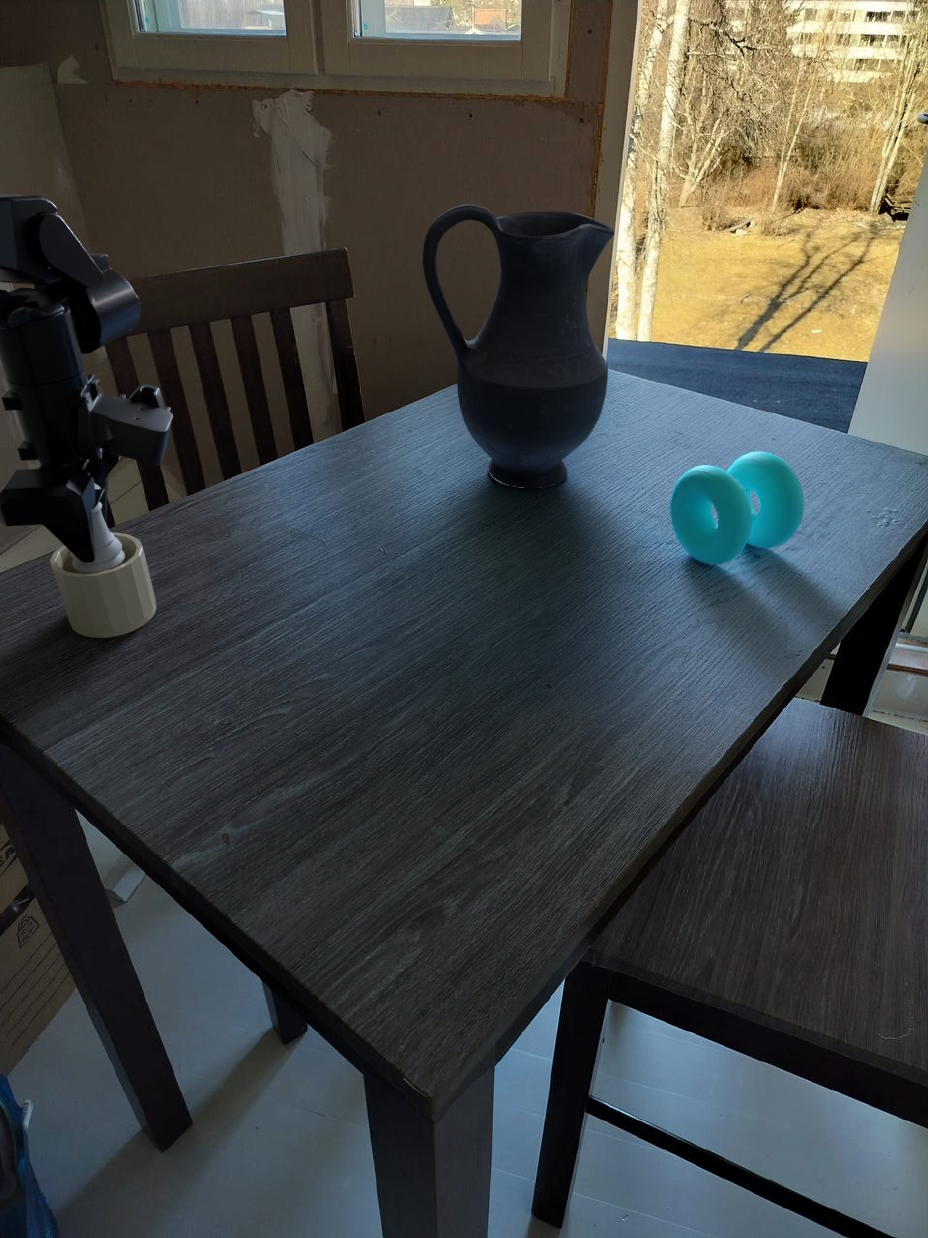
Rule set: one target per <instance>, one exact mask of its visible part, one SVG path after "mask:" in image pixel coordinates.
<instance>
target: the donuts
mask: <svg viewBox="0 0 928 1238" xmlns="http://www.w3.org/2000/svg"><path fill="white" fill-rule="evenodd" d="M752 492H753V493H754V494H755V496H756V497H757V499H758V503H759V511H758V512H757V510H756V508H755V506H754V504H753V498H752ZM712 506H713V507H714V509H715V512H716V515H717V521H716V519H715V517H714V515H713V512H712V511H713V509H712ZM804 511H805V497H804V492H803V487H802V484H801V482H800V479H799V477H798V476H797V474H796V472H795V470H794V469H793V467H791V465H790V464H789V463H787V461H785V460H784V459H783V458H782V457H780V456H778V455H776V454H775V453H774V454H773V453H771V452H768V451H751V452H748V453H745V454H743V455H742V456H740V457H738V458H737V459H736V460H734V462H733V463H732V464H731V465H730V466H729V468H728V469H727V470H725V469H723V468H721V467H718V466H716V465H709V464H707V465H705V464H704V465H698V466H694V467H692V468H690V469H688V470H687V471H686V472H684V473H683V474H682V475H681V476H680V478H678V480H677V481H676V482H675V485H674V487H673V490H672V493H671V497H670V503H669V512H670V513H669V514H670V521H671V526H672V529H673V532H674V534H675V538H676V539H677V541H678V542H679V544H680V546H681V547H682V548H683V549H684V551H685V552H686V553H688V555H689V556H691V557H692V558H693V559H695V560H696V561H698V562H700V563H703V564H706V565H712V566H718V565H724V564H727V563H729V562H731V561H732V560H734V559H736V558H737V557H738V556H739V555H741V553H742V551H743V550H744V549H745V547H746V546H747V545H750V546H752V547H756V548H759V549H772V548H773V549H774V548H777V547H779V546H781V545H783V544H785V543H786V542H788V541H789V540H791V539H792V537H794V535H795V534H796V532H797V531H798V529H799V528H800V525H801V524H802V521H803V517H804Z"/></svg>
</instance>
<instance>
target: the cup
mask: <svg viewBox="0 0 928 1238" xmlns="http://www.w3.org/2000/svg"><path fill="white" fill-rule="evenodd" d="M111 532H112V531H111ZM112 533H113V534H114V537H116V538H117V539H118V540H119V541H120V543H121V544H122V550H123V552H124V553H125V558H124V560H123V562H122V564H121V565H120V566H117V567H115V568H113V569H110V570H106V571H102V572H98V573H87V574H84V573H81V572H79V571H78V570H76V569H75V568H74V567H73V565H72V562H73V559H72V558H71V556H70V550H69V549H68V548H67V547H66V546H65V545H64V544H62V546H60V547H59V548H58V549H56V550H55V551H54V552H53V554H52V556H51V557H50V559H49V563H50V567H51V570H52V573H53V576H54V579H55V582H56V586H57V588H58V591H59V595H60V597H61V601H62V604H63V607H64V611H65V613H66V617H67V620H68V622H69V625H70V627H71V629H72V631H74V632H75V633H77V634H78V635H81V636H83V637H88V638H92V639H93V638H94V639H107V638H114V637H120V636H123V635H126V634H129V633H131V632H134V631H136V630H138V629H141V627H144V625H146V624H148V622H150V621H151V619H152V618H153V617H154V616H155V614H156V611H157V600H156V599H157V598H156V596H155V591H154V587H153V583H152V579H151V575H150V571H149V567H148V564H147V563H148V562H147V559H146V554H145V551H144V547H143V544H142V542H141V540H140V539H138V538H137V537H135V536H133V535H131V534H128V533H122V532H115V531H113V532H112Z"/></svg>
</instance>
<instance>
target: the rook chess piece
mask: <svg viewBox="0 0 928 1238" xmlns="http://www.w3.org/2000/svg"><path fill="white" fill-rule="evenodd" d="M92 480H93V478H92ZM93 483H94V480H93ZM94 487H95V489H101V488H100V487H99V486H98V485H97V484H95V483H94ZM101 508H102V504H101V503H100V502H99V503H98V505H97V506H96V507H95V508H94V509H92V511H91V513H92V523H93V533H94V544H95V560H94V562H86V563H83V562H81V561H80V560H79V559H78V558H77V557H76V556H75V555H74V554H73V553H72V552H71V551H70V556H71V558H72V559H73V562H72V565H73V567H74V568H75V569H76V570H78V571H79V572H81V573H84V574H87V573H98V572H102V571H106V570H110V569H113V568H115V567H117V566H120V565H121V564H122V562H123V560H124V558H125V553H124V552H123V550H122V544H121V543H120V541H119V540H118V539H117V538H116V537H114V534H113V533H112V531H110V529H109V527H108V526H107V525H108V524H107V525H106V523H105V520H104V518H103V516H102V512H101Z"/></svg>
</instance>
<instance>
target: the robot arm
mask: <svg viewBox="0 0 928 1238" xmlns="http://www.w3.org/2000/svg"><path fill="white" fill-rule="evenodd" d="M0 283H4V284H17V285H18V284H19V285H33V287H18V288H15V289H12V290H10V291H7V290H6V289H0V364H1V368H2V371H3V374H4V377H5V381H6V384H7V387H8V390H7V391H6V392H5V393H4V394H3V395H2V397H1V401H2V404H3V407H4V411H9V412H11V411H15V414H16V417H17V419H18V423H19V427H20V430H21V433H22V436H23V440H22V442H21V443H20V444H19V446H18V448H17V452H18V455H19V458H20V461H22V462H23V461H24V462H25V461H38V463H39V466H38V468H27V469H25V468H24V469H16V470H15V471H14V472H13V474H12V475H11V476H10V478H9V479H8V480H7V481H6V483H5V485H4V486H3V487H2V489H1V490H0V524H2V525H3V526H5V527H21V526H23V527H24V526H38V525H39V526H43V527H44V528H46V530H48V532H49V533H51V534H52V535H53V536H54V537H55V538H56V539H57V540H58V541H59V542H60V543H61V544H62V545H65V546H66V547H67V548H68V549H69V550H70V551H71V552H72V553H73V554H74V555H75V556H76V557H77V558H78V559H79V560H80V561H81V562H83V563H86V562H94V560H95V544H94V533H93V523H92V513H91V511H92V509H94V508H95V507H96V506H97V505H98V503H99V502H100V503H101V504H102V508H101V512H102V516H103V518H104V520H105V523H106V525H108V493H109V492H108V488H109V475H110V473H111V472H112V470H114V468H115V467H116V466H117V465H118V463H119V461H120V459H121V457H123V458H127V459H131V460H135V461H139V462H140V463H141V464H142V465H145V466H152V467H157V466H160V465H161V464H162V463H163V460H164V456H165V453H166V451H167V449H168V444H169V438H170V433H171V428H172V423H173V422H172V421H173V418H174V415H173V413H172V412H171V409H172V407H171V406H165V402H164V400H163V397H162V394H161V393H162V392H161V390H160V388H159V387H158V386H155V385H151V384H149V383H143V382H141V383H140V384H139V385H138V387H137V388H136V389H135V390H134V391H133V392H132V393H131V394H130V395H129V398H126V397H127V395H126V394H124V393H120V394H119V396H118V397H117V396H114V395H109V394H104V391H103V389H102V384H101V381H100V379H99V378H96V375H95V373H87V370H86V367H85V361H84V358H83V355H86V354H92V353H93V352H95V351H97V350H99V349H101V348H103V347H105V346H106V345H109V344H110V343H112V342H113V341H115V340H118V339H120V338H121V337H123V336H125V335H127V334H129V333H131V332H132V331H134V329H135V328H136V327H137V326H138V323H139V322H140V320H141V313H142V310H141V309H142V308H141V301H140V298H139V295H137V294H136V292H135V290H134V288H133V287H132V285H131V284H130V282H129V281H128V280H127V279H126V278H125V277H124V276H123V275H122V274H121V273H119V272H118V271H116V270H114V269H112V268H111V264H110V260H109V256H108V254H107V253H99V252H98V253H97V252H88V251H87V250H86V249H85V247H84V246H83V244H82V243H81V241H79V239H78V238H77V236H76V235H75V234H74V233H73V231H72V230H71V228H70V227H69V226H68V224H67V223H66V222H65V220H64V219H63V218H62V217H61V216H60V215H59V214H58V207H57V206H56V204H55V203H53V202H52V200H51V199H49V198H48V197H45V196H42V195H38V194H19V193H0ZM92 478H93V480H94V483H95V484H97V485H98V486H99V487H100V488H101V489H95V487H94V483H93V480H92Z"/></svg>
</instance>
